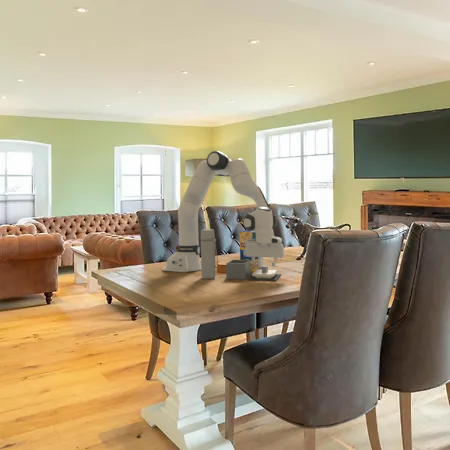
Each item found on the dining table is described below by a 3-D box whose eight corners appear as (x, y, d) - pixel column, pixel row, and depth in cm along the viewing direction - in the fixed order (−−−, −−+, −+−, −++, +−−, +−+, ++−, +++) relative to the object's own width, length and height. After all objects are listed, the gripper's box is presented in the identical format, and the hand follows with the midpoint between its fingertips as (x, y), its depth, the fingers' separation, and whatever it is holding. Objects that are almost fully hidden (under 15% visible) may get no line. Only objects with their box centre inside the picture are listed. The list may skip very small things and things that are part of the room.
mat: (248, 280, 236) (248, 279, 236) (255, 274, 251) (255, 273, 251) (276, 281, 232) (276, 280, 232) (281, 275, 247) (281, 274, 247)
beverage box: (258, 272, 256) (258, 232, 254) (240, 271, 261) (239, 231, 259) (263, 270, 262) (262, 231, 261) (245, 269, 267) (244, 230, 265)
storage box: (226, 278, 241) (226, 263, 240) (232, 274, 252) (232, 259, 252) (245, 279, 238) (245, 263, 237) (250, 274, 250) (250, 259, 249)
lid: (252, 278, 237) (252, 267, 236) (257, 273, 249) (257, 263, 249) (273, 279, 234) (273, 268, 234) (277, 274, 246) (277, 264, 246)
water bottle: (205, 279, 239) (204, 230, 237) (198, 277, 246) (197, 229, 244) (221, 278, 243) (220, 229, 241) (214, 275, 250) (213, 228, 248)
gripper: (243, 239, 240) (243, 266, 241) (283, 240, 234) (283, 267, 235) (245, 237, 246) (246, 264, 247) (285, 238, 240) (285, 265, 241)
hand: (264, 265), depth 241 cm, fingers open, 8 cm apart
